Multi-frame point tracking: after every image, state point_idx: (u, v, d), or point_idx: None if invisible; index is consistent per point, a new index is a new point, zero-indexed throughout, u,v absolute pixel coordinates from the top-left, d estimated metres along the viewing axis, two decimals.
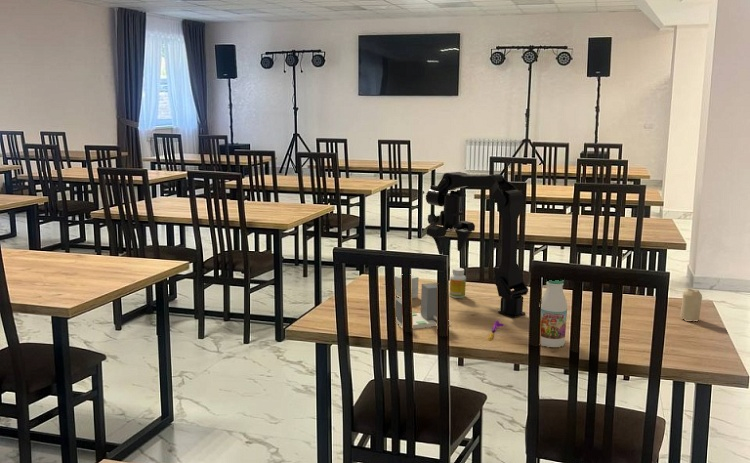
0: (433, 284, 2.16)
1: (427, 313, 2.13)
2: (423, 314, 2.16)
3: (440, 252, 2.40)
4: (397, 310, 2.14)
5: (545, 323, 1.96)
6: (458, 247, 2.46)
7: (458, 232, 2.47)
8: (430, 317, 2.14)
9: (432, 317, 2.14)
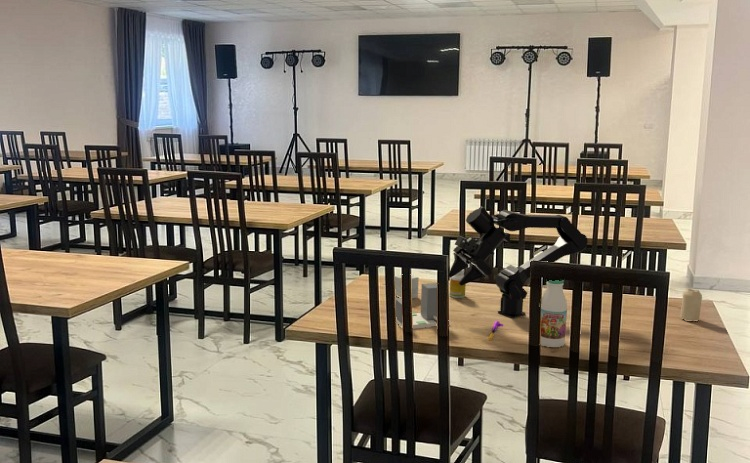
0: (433, 284, 2.16)
1: (427, 313, 2.13)
2: (423, 314, 2.16)
3: (463, 283, 2.13)
4: (397, 310, 2.14)
5: (545, 323, 1.96)
6: (451, 273, 2.22)
7: (459, 259, 2.22)
8: (430, 317, 2.14)
9: (432, 317, 2.14)
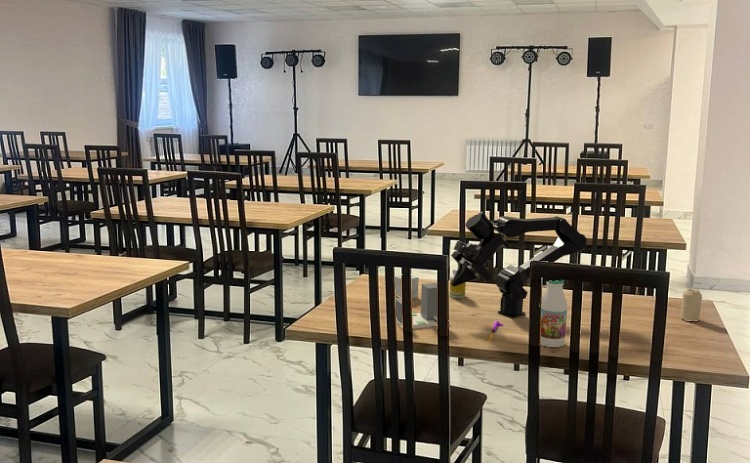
0: (433, 284, 2.16)
1: (427, 313, 2.13)
2: (423, 314, 2.16)
3: (455, 284, 2.17)
4: (397, 310, 2.14)
5: (545, 323, 1.96)
6: None
7: None
8: (430, 317, 2.14)
9: (432, 317, 2.14)
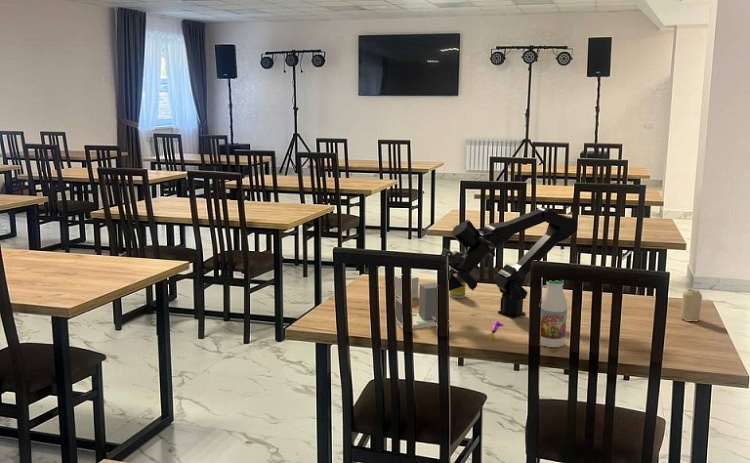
0: (431, 284, 2.16)
1: (425, 313, 2.13)
2: (421, 314, 2.16)
3: None
4: (397, 310, 2.14)
5: (545, 323, 1.96)
6: None
7: None
8: (428, 318, 2.14)
9: (430, 317, 2.14)
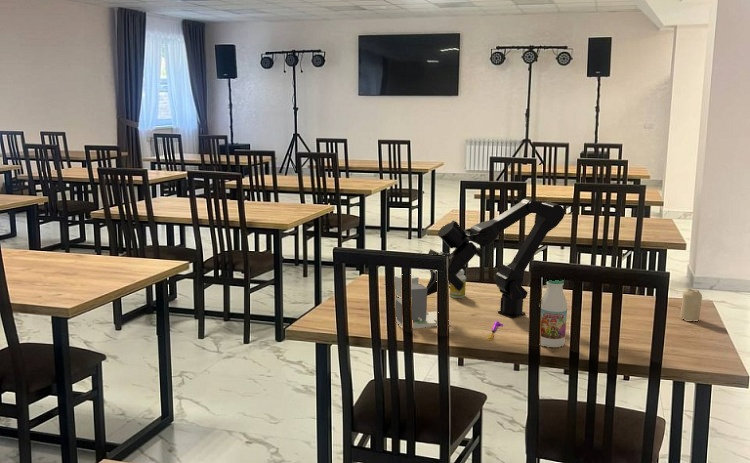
0: (417, 285, 2.14)
1: None
2: None
3: (428, 294, 2.14)
4: (397, 310, 2.14)
5: (545, 323, 1.96)
6: (427, 291, 2.15)
7: None
8: (414, 319, 2.12)
9: (416, 318, 2.13)
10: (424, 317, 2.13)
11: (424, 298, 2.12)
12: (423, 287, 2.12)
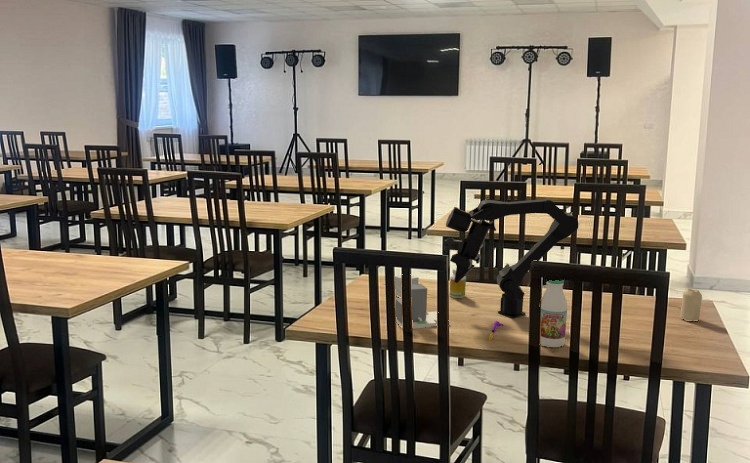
0: (417, 285, 2.14)
1: None
2: None
3: (457, 280, 2.23)
4: (397, 310, 2.14)
5: (545, 323, 1.96)
6: None
7: None
8: (414, 319, 2.12)
9: (416, 318, 2.13)
10: (424, 317, 2.13)
11: (424, 298, 2.12)
12: (423, 287, 2.12)
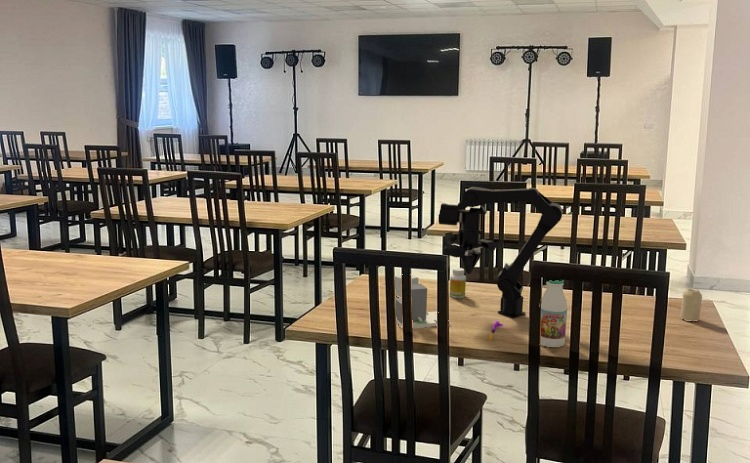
0: (417, 285, 2.14)
1: None
2: None
3: (468, 271, 2.26)
4: (397, 310, 2.14)
5: (545, 323, 1.96)
6: None
7: None
8: (414, 319, 2.12)
9: (416, 318, 2.13)
10: (424, 317, 2.13)
11: (424, 298, 2.12)
12: (423, 287, 2.12)
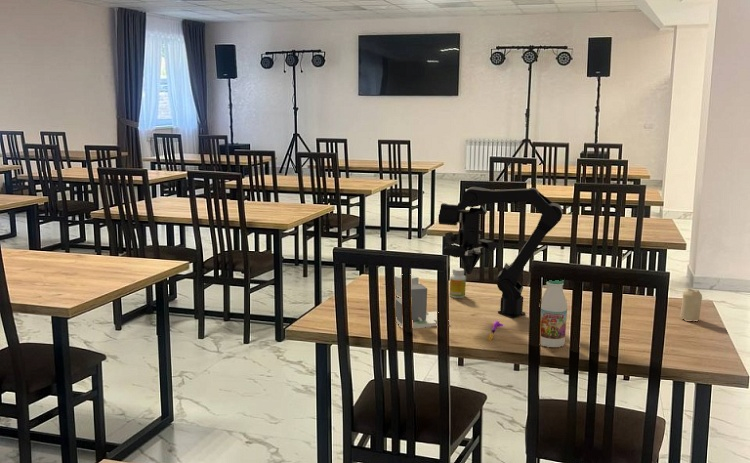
0: (417, 285, 2.14)
1: None
2: None
3: (468, 271, 2.26)
4: (397, 310, 2.14)
5: (545, 323, 1.96)
6: None
7: None
8: (414, 319, 2.12)
9: (416, 318, 2.13)
10: (424, 317, 2.13)
11: (424, 298, 2.12)
12: (423, 287, 2.12)
